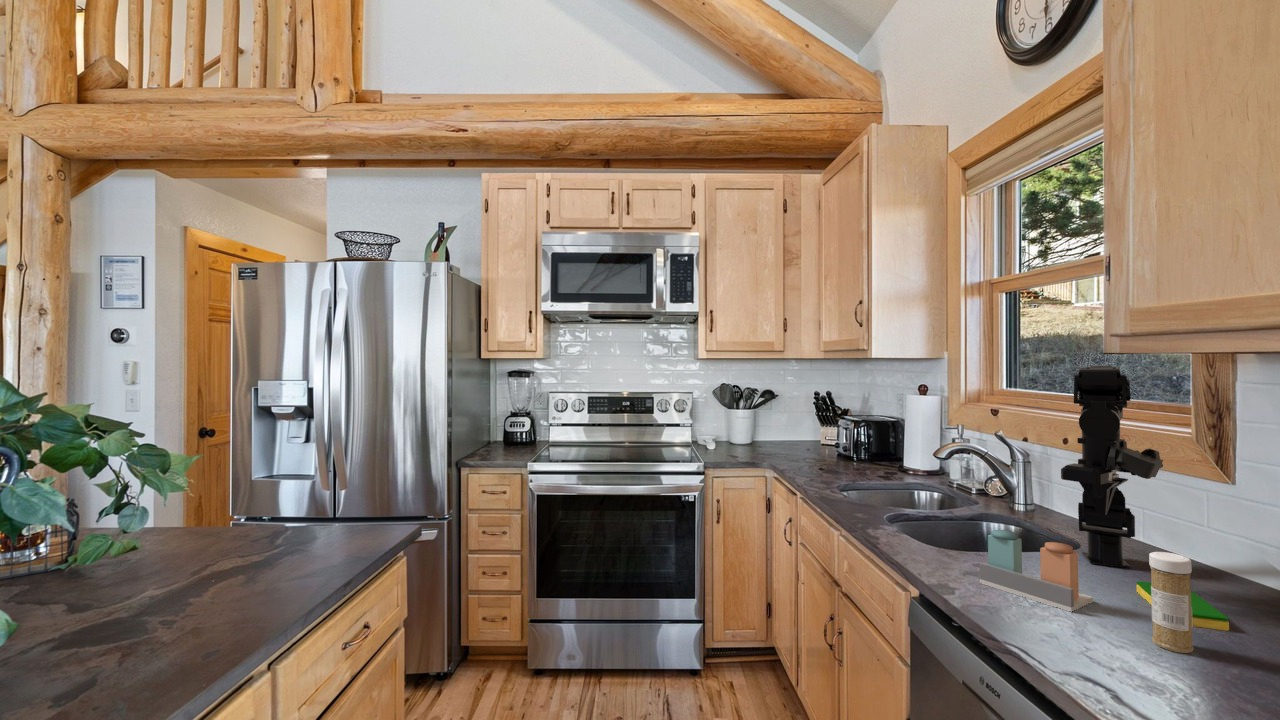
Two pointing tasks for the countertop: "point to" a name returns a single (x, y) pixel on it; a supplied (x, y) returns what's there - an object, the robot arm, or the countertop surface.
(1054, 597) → the button console
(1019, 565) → the button teal
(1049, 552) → the orange domed block
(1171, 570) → the sprinkles bottle
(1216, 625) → the dish sponge
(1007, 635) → the countertop surface
